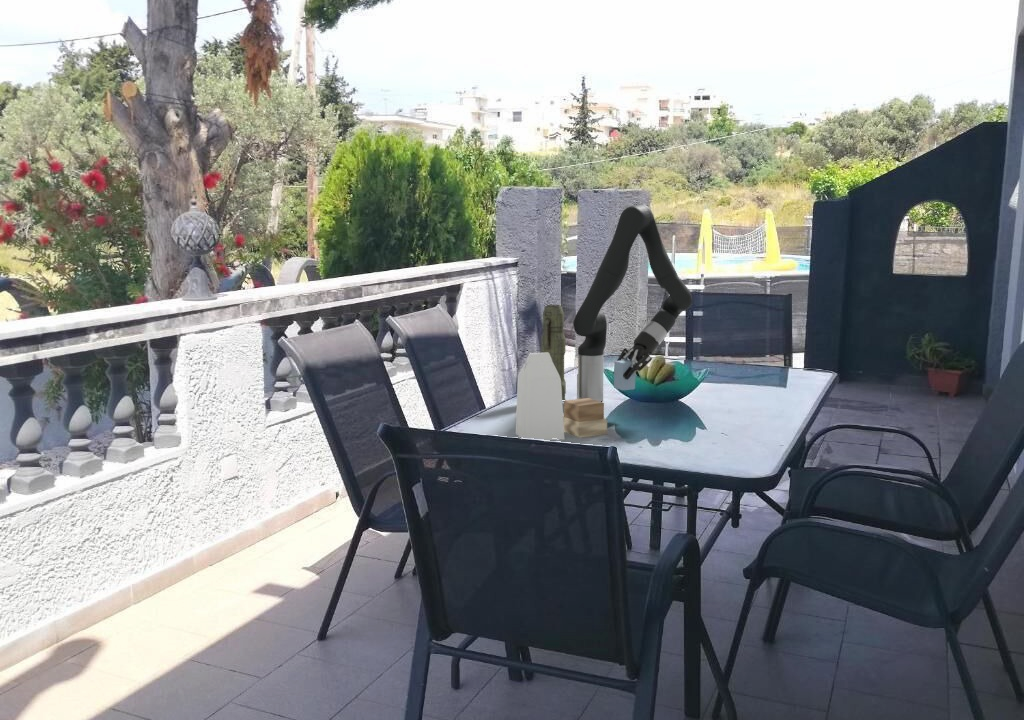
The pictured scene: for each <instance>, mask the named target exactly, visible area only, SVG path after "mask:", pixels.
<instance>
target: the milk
mask: <svg viewBox="0 0 1024 720" xmlns="http://www.w3.org/2000/svg"><path fill="white" fill-rule="evenodd" d="M516 387H517V388H516V413H515V414H516V415H515V416H516V417H515V435H516V434H517V435H519V436H518V438H520V437H523V438H534V439H544V440H556V441H558V440H557V439H564V440H565V432H564V423H563V416H564V405H563V402H562V388H561V379H560V376H559V374H558V372H557V370H556V368H555V366H554V364H553V362H552V359H551V356H550V354H549V353H548V352H545V353H541V352H529V354H528V355H527V358H526V359H525V362H524V364H523V366H522V367H521V369H520V370H519V373H518V375H517V385H516ZM517 435H516V436H517ZM552 438H557V439H552Z"/></svg>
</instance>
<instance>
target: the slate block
mask: <svg viewBox="0 0 1024 720" xmlns="http://www.w3.org/2000/svg"><path fill="white" fill-rule="evenodd" d="M631 364H632V361H630V360H629V359H628V360H622V359H621V361H617V360H614V365H613V367H614V369H613V372H614V374H613V388H614V389H617V390H620V391H628V390H629V391H631V390H635V389H636V372H634V373H633V374H632V375H631V377H630V378H629V379H628V380H627V379H625V378H624V377H623V374H624V373H625V372H626V370H627V369H628V368H629V367H630V365H631Z"/></svg>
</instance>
